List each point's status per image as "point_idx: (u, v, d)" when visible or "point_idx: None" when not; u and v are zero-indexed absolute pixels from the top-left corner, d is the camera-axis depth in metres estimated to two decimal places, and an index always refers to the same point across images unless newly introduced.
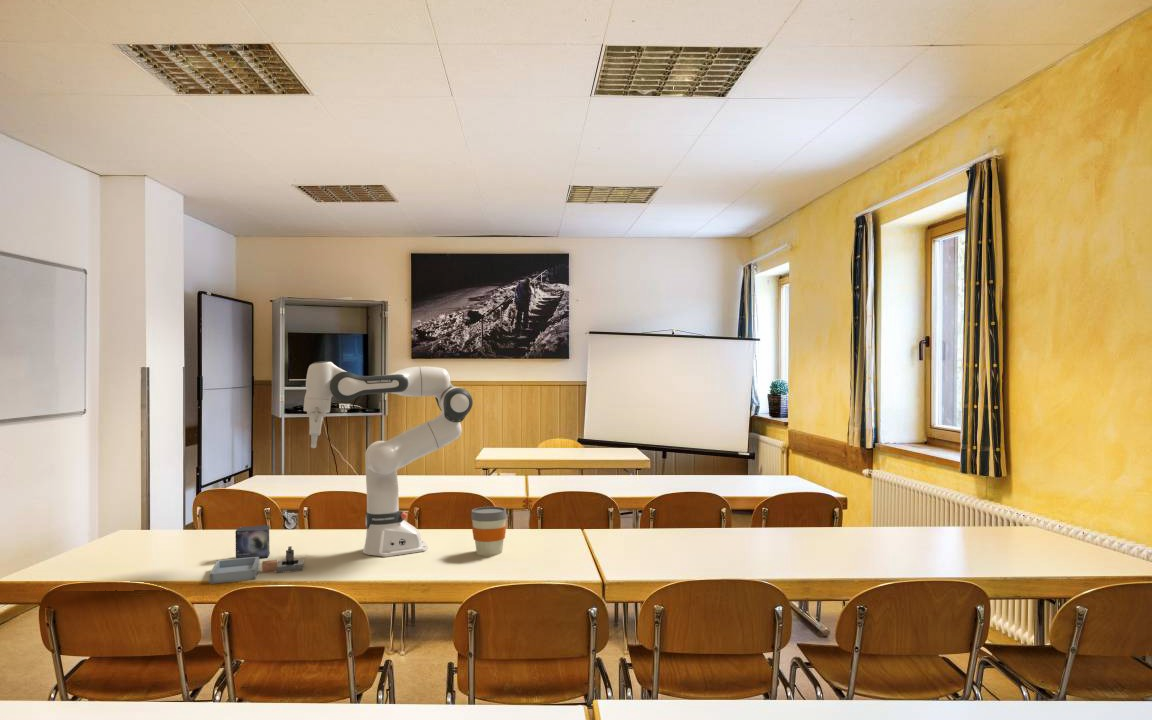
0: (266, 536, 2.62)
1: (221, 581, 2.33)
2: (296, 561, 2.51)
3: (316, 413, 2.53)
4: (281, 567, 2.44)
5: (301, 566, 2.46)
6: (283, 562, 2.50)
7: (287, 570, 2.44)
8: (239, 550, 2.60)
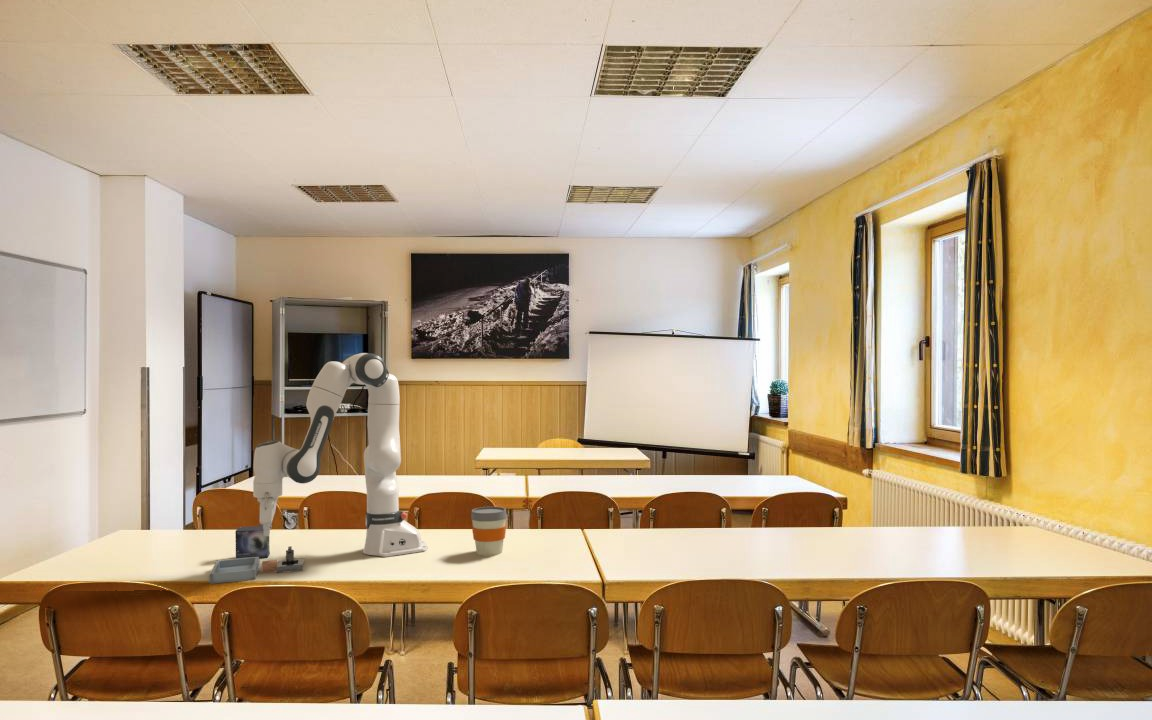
0: (266, 536, 2.62)
1: (221, 581, 2.33)
2: (296, 561, 2.51)
3: (265, 501, 2.36)
4: (281, 567, 2.44)
5: (301, 566, 2.46)
6: (283, 562, 2.50)
7: (287, 570, 2.44)
8: (239, 550, 2.60)
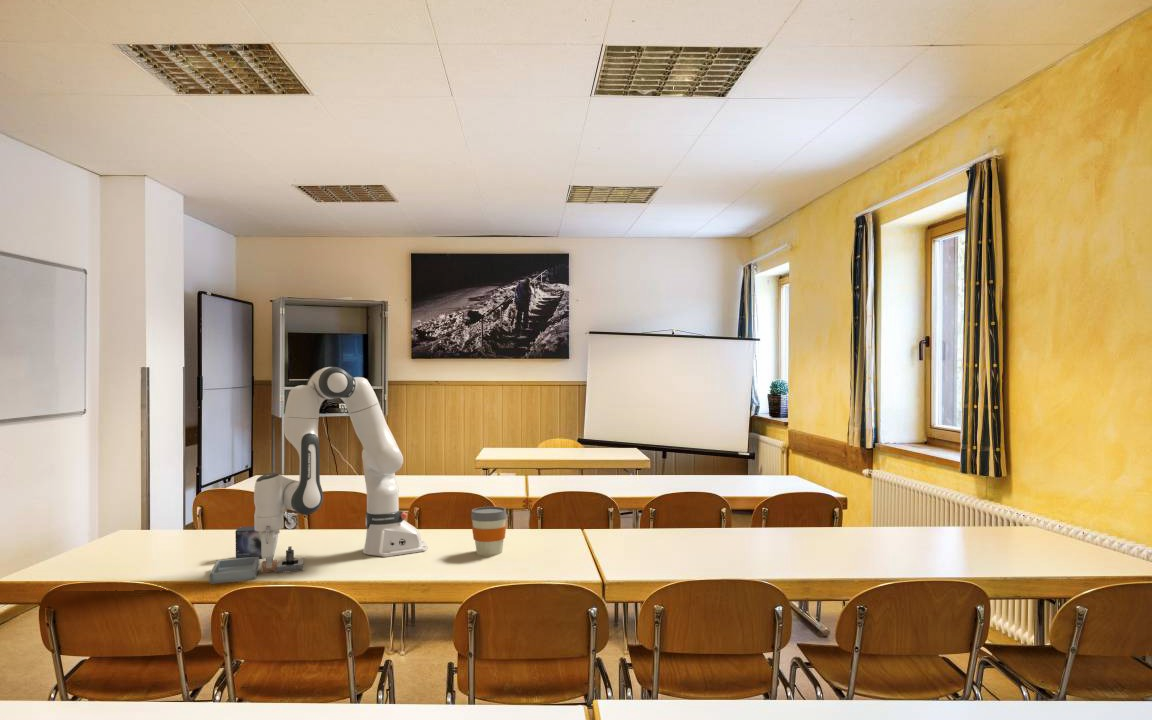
0: None
1: (221, 581, 2.33)
2: (296, 561, 2.51)
3: (266, 535, 2.37)
4: (281, 567, 2.44)
5: (301, 566, 2.46)
6: (283, 562, 2.50)
7: (287, 570, 2.44)
8: (239, 550, 2.60)
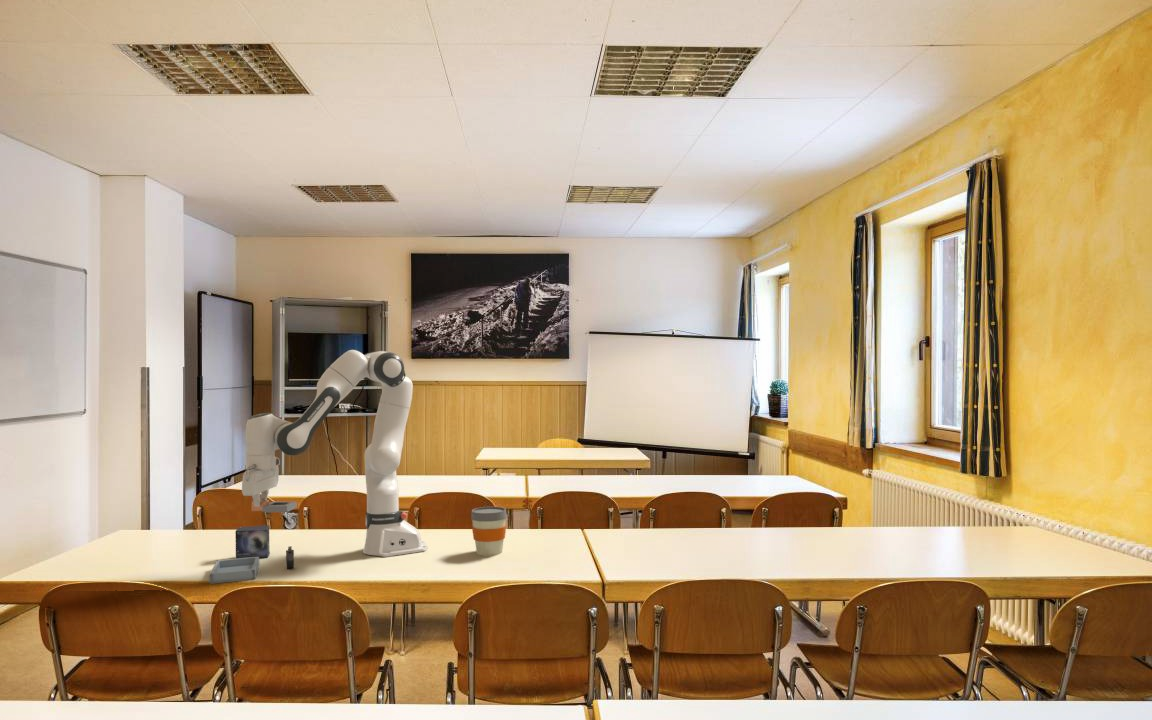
0: (266, 536, 2.62)
1: (221, 581, 2.33)
2: (288, 503, 2.48)
3: (246, 472, 2.36)
4: (267, 507, 2.42)
5: (285, 508, 2.42)
6: (276, 503, 2.48)
7: (272, 510, 2.42)
8: (239, 550, 2.60)
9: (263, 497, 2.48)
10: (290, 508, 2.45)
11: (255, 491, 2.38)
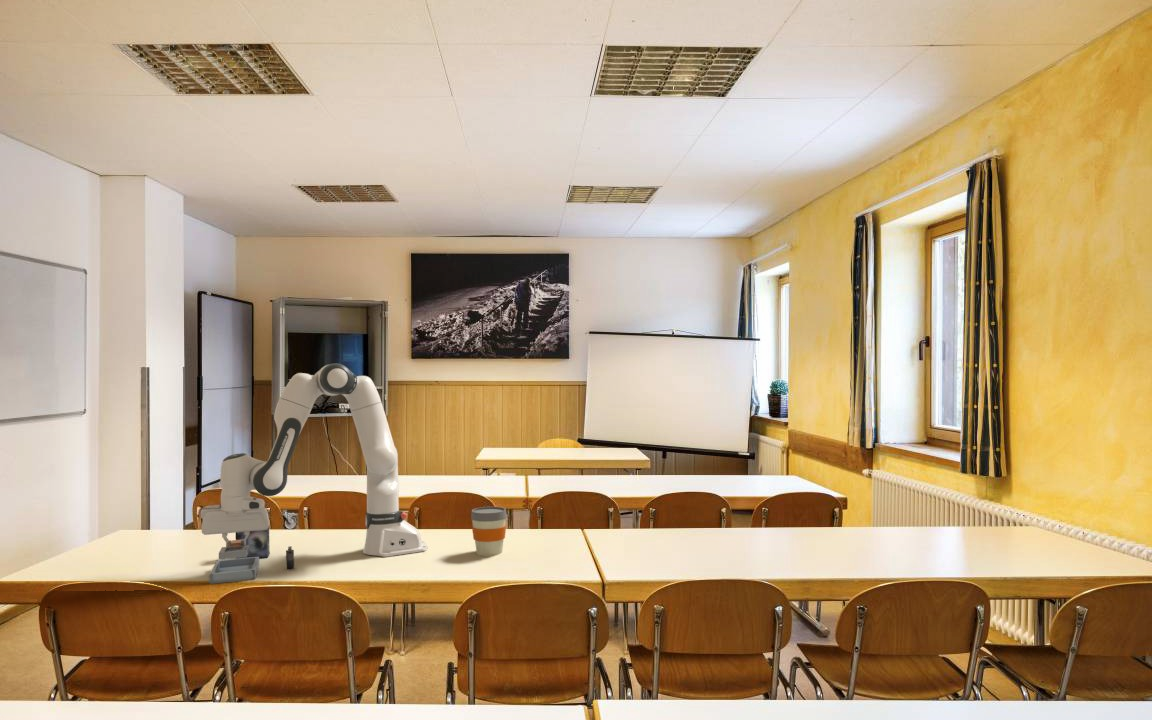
0: (266, 536, 2.62)
1: (221, 581, 2.33)
2: None
3: (201, 511, 2.43)
4: (221, 549, 2.42)
5: None
6: (243, 547, 2.43)
7: None
8: None
9: (244, 538, 2.47)
10: (228, 556, 2.36)
11: (208, 531, 2.42)
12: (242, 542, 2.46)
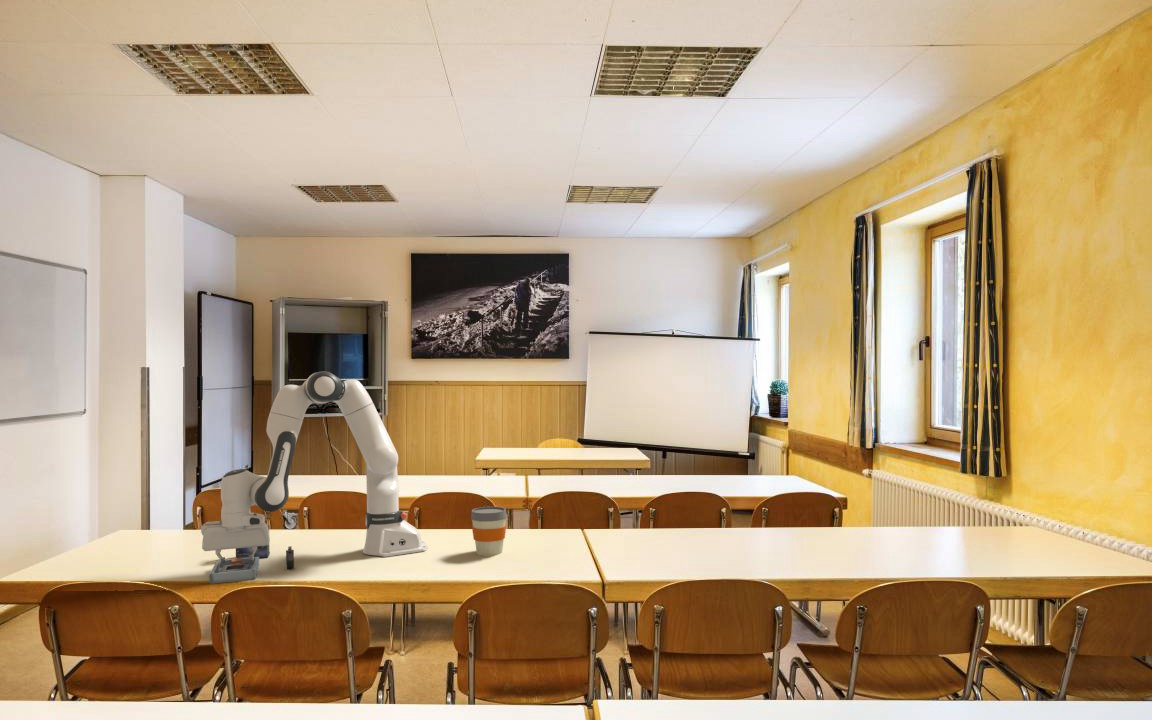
0: None
1: (221, 581, 2.33)
2: None
3: (201, 527, 2.43)
4: (222, 567, 2.42)
5: None
6: (244, 565, 2.43)
7: None
8: (239, 550, 2.60)
9: None
10: None
11: (208, 547, 2.42)
12: (250, 557, 2.47)
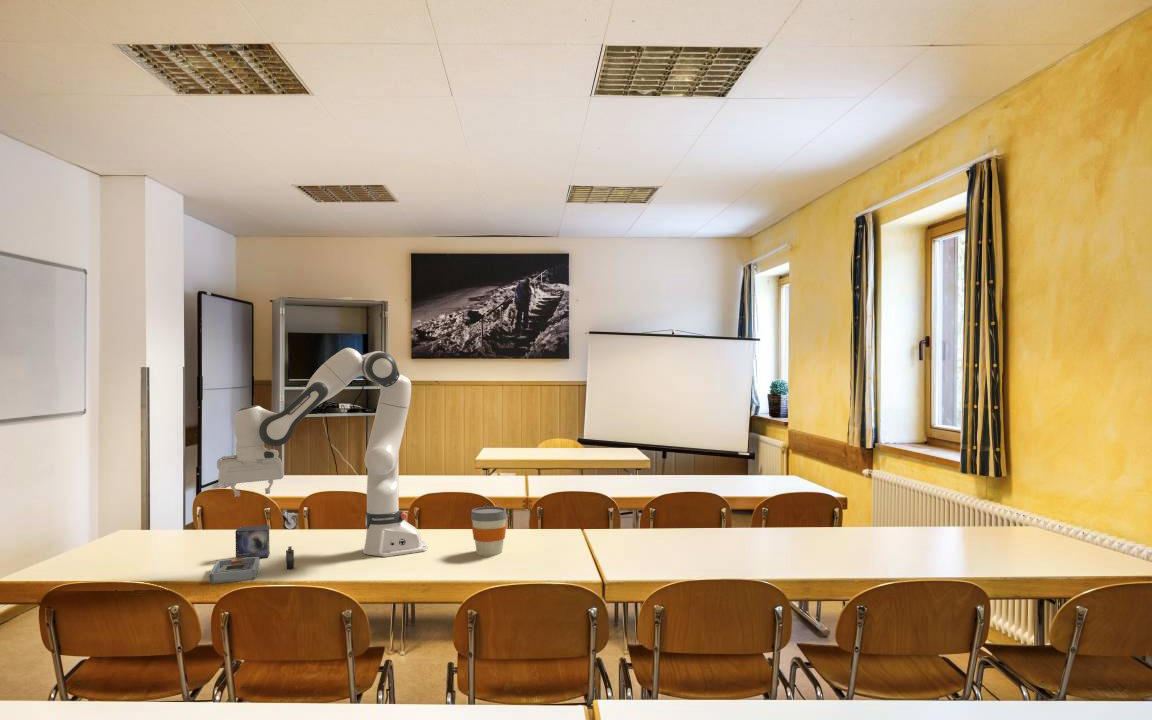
0: (266, 536, 2.62)
1: (221, 581, 2.33)
2: None
3: (217, 462, 2.49)
4: (222, 567, 2.42)
5: None
6: (244, 565, 2.43)
7: None
8: (239, 550, 2.60)
9: (268, 487, 2.54)
10: None
11: (224, 481, 2.48)
12: (266, 490, 2.53)
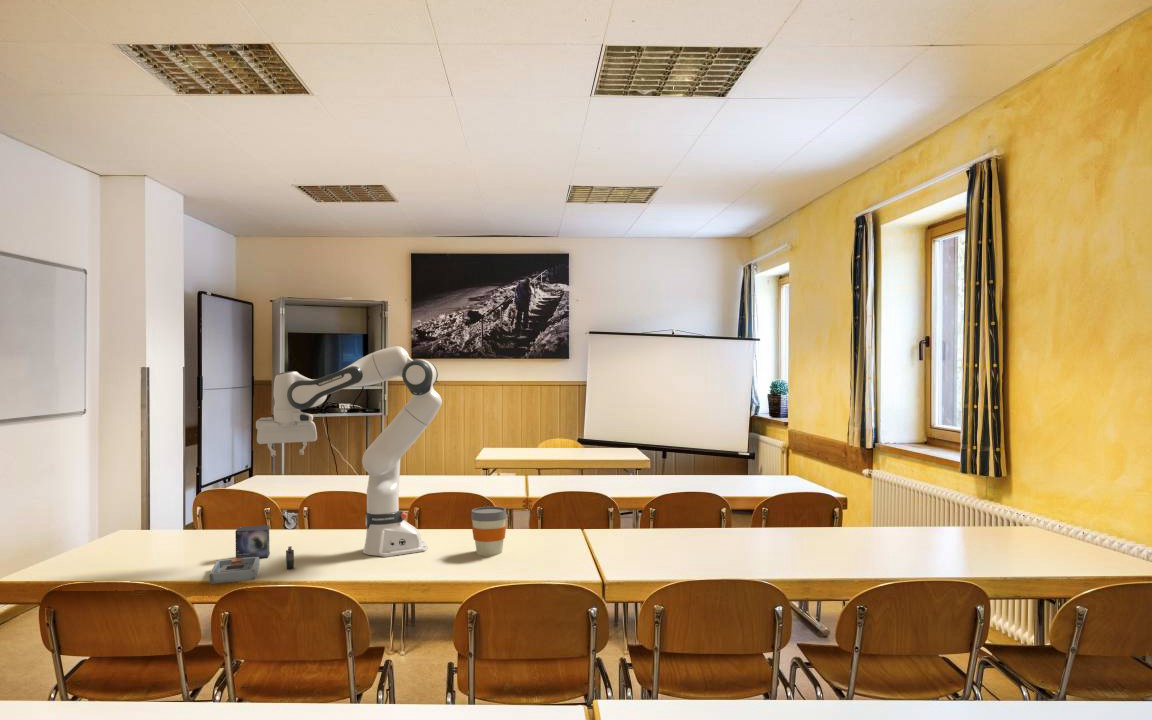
0: (266, 536, 2.62)
1: (221, 581, 2.33)
2: None
3: (256, 422, 2.66)
4: (222, 567, 2.42)
5: None
6: (244, 565, 2.43)
7: None
8: (239, 550, 2.60)
9: (302, 448, 2.70)
10: None
11: (262, 440, 2.65)
12: (300, 451, 2.69)
